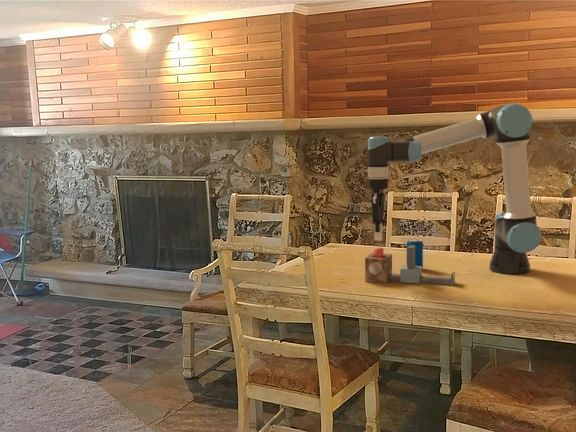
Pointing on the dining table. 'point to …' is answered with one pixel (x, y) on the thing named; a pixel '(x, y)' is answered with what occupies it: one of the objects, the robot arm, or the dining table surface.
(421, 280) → the rail
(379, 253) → the gauge button
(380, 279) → the brown button box
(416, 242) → the beverage can
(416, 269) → the carriage
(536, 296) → the dining table surface
